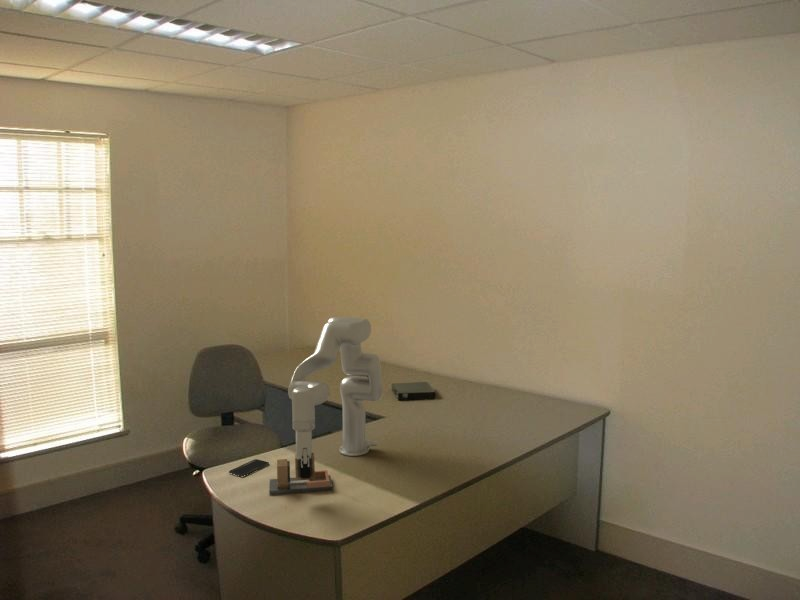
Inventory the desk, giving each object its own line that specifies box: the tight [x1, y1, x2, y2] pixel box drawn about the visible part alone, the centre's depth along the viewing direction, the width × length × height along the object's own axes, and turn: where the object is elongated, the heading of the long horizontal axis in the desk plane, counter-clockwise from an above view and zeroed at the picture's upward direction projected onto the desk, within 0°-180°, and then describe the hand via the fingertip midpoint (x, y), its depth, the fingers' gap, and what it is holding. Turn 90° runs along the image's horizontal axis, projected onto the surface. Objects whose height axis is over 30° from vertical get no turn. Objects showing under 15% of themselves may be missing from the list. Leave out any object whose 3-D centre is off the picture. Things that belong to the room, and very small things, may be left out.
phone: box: [228, 458, 270, 476], centre depth 240 cm, size 8×1×15 cm
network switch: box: [391, 381, 437, 402], centre depth 344 cm, size 23×24×5 cm
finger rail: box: [268, 458, 333, 496], centre depth 224 cm, size 22×10×10 cm, turn 101°
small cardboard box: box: [294, 452, 316, 481], centre depth 212 cm, size 6×4×8 cm
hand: (305, 474), depth 213 cm, fingers closed on small cardboard box, 4 cm apart
